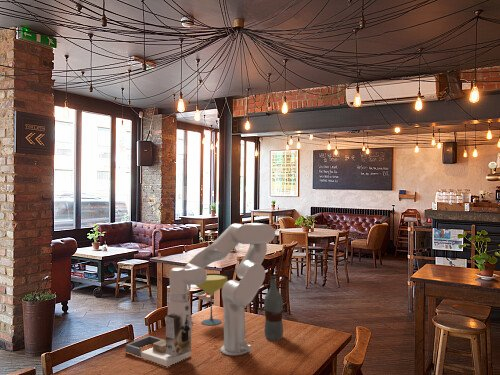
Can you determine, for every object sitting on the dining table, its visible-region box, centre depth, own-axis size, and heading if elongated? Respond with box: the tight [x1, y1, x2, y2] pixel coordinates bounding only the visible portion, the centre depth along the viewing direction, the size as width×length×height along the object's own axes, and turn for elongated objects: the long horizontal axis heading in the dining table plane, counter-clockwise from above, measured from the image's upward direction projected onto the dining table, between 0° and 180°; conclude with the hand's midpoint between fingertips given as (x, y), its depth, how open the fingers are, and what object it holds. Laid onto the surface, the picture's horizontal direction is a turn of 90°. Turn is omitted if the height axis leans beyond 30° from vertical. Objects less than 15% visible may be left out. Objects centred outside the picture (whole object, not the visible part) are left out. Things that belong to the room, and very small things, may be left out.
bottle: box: [263, 275, 284, 341], centre depth 208 cm, size 9×9×30 cm
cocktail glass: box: [195, 273, 229, 327], centre depth 232 cm, size 18×18×25 cm
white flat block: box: [141, 347, 192, 367], centre depth 184 cm, size 16×14×3 cm
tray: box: [125, 335, 164, 357], centre depth 192 cm, size 10×14×4 cm
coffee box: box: [165, 314, 192, 357], centre depth 180 cm, size 9×6×16 cm
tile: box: [153, 339, 166, 353], centre depth 185 cm, size 6×6×3 cm
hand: (178, 338), depth 180 cm, fingers closed on coffee box, 6 cm apart
